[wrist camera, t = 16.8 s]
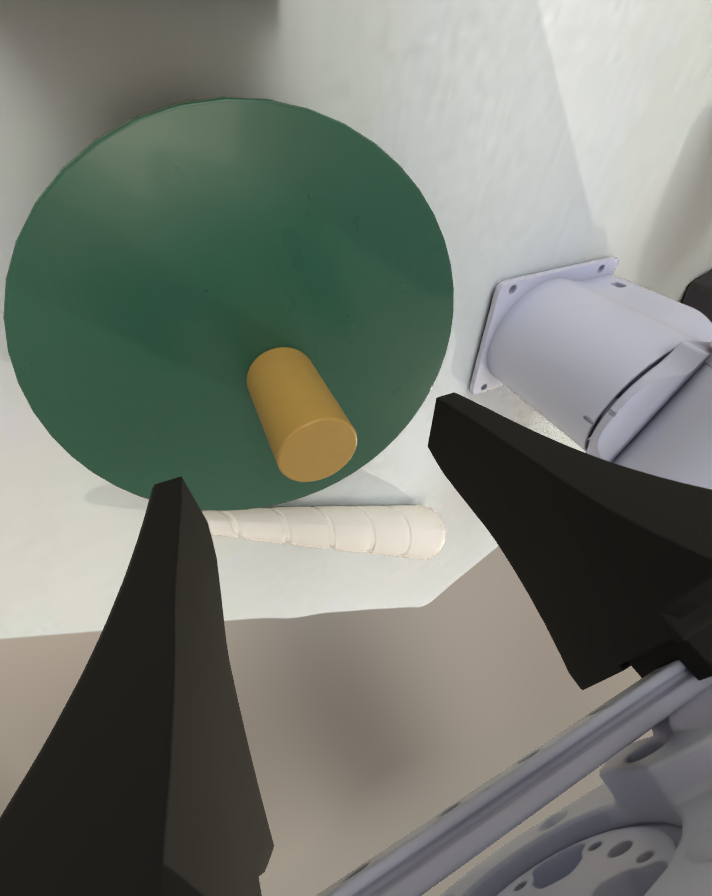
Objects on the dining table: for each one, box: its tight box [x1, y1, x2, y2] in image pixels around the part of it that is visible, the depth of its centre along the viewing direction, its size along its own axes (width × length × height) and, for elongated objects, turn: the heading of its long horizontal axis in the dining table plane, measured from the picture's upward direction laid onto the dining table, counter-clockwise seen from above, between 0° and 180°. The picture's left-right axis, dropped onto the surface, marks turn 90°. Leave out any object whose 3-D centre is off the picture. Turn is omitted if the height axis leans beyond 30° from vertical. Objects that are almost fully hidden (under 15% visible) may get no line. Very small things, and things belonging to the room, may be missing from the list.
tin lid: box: [4, 97, 454, 511], centre depth 12 cm, size 14×14×5 cm
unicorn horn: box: [202, 505, 446, 559], centre depth 27 cm, size 5×24×5 cm, turn 56°
